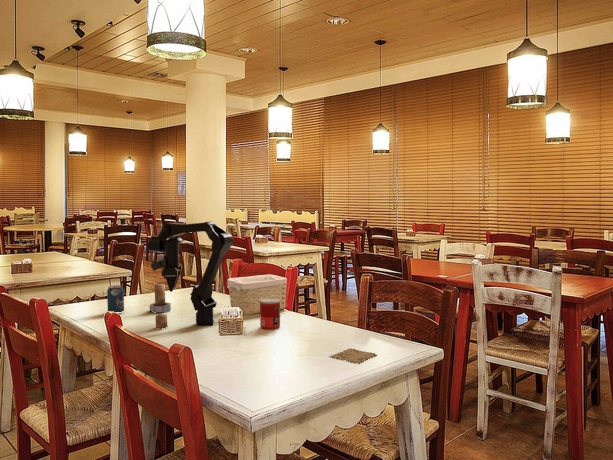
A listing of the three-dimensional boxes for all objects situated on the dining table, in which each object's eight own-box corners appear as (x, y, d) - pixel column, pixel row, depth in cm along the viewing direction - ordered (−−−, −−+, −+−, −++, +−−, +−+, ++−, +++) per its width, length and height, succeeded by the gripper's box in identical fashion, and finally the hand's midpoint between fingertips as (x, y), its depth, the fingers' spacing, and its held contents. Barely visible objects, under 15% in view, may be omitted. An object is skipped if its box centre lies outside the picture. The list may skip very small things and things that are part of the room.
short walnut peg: (168, 326, 212) (167, 313, 212) (166, 328, 208) (166, 316, 207) (156, 326, 211) (156, 314, 211) (154, 329, 207) (154, 316, 207)
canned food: (277, 330, 205) (277, 302, 205) (257, 329, 207) (257, 301, 206) (282, 325, 213) (282, 298, 212) (263, 324, 215) (263, 297, 214)
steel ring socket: (171, 308, 245) (171, 302, 244) (169, 312, 236) (168, 306, 236) (151, 309, 243) (151, 302, 243) (148, 313, 235) (148, 306, 234)
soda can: (120, 314, 232) (120, 287, 231) (105, 314, 232) (104, 287, 231) (126, 311, 239) (125, 285, 238) (111, 311, 239) (110, 285, 238)
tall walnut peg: (167, 310, 241) (166, 284, 240) (162, 312, 237) (161, 285, 236) (158, 309, 242) (158, 283, 242) (153, 311, 238) (152, 285, 237)
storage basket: (242, 316, 229) (242, 282, 228) (226, 309, 243) (225, 278, 242) (288, 309, 243) (288, 278, 242) (271, 303, 256) (270, 273, 255)
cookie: (348, 349, 181) (348, 346, 181) (378, 356, 173) (378, 353, 173) (327, 358, 172) (327, 355, 172) (359, 365, 164) (359, 362, 164)
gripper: (155, 250, 228) (156, 286, 229) (148, 255, 210) (148, 294, 211) (181, 250, 230) (182, 285, 231) (176, 255, 211) (177, 293, 212)
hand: (172, 289), depth 221 cm, fingers open, 9 cm apart
